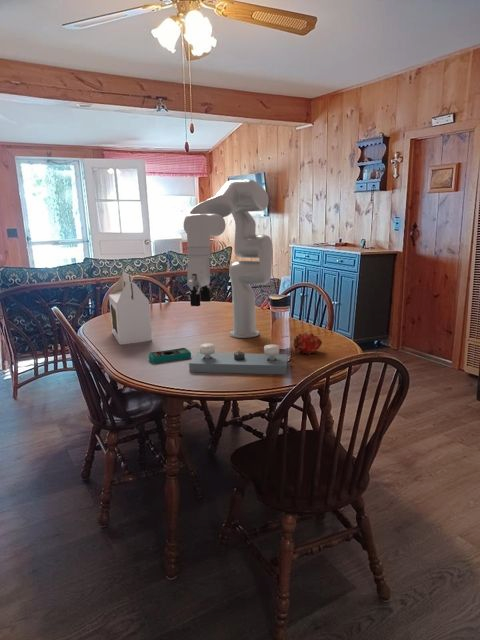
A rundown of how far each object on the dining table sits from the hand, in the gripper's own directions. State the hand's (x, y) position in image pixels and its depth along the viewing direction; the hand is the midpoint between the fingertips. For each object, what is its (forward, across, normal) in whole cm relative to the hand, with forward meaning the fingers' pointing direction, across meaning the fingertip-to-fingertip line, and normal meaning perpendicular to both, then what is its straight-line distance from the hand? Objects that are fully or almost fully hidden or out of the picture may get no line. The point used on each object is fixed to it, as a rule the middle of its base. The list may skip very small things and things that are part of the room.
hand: (200, 303), depth 153 cm
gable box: (+21, -30, -44) cm, 57 cm away
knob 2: (+20, -2, +24) cm, 31 cm away
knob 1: (+20, +1, +2) cm, 20 cm away
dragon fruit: (+21, -21, +34) cm, 45 cm away
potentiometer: (+19, -1, +13) cm, 23 cm away
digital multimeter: (+22, -5, -15) cm, 27 cm away
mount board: (+22, -1, +13) cm, 25 cm away
